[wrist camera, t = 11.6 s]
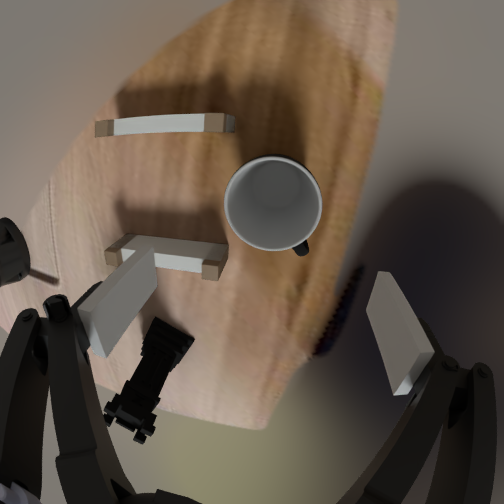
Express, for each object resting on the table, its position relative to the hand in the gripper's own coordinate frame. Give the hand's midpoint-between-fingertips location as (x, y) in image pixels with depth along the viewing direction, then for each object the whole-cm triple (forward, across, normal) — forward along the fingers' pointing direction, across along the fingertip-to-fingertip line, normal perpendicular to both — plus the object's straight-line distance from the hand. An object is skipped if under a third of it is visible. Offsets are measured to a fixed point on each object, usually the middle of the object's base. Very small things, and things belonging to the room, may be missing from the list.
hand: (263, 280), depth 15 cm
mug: (+21, +1, 0) cm, 21 cm away
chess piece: (+21, -17, -28) cm, 39 cm away
